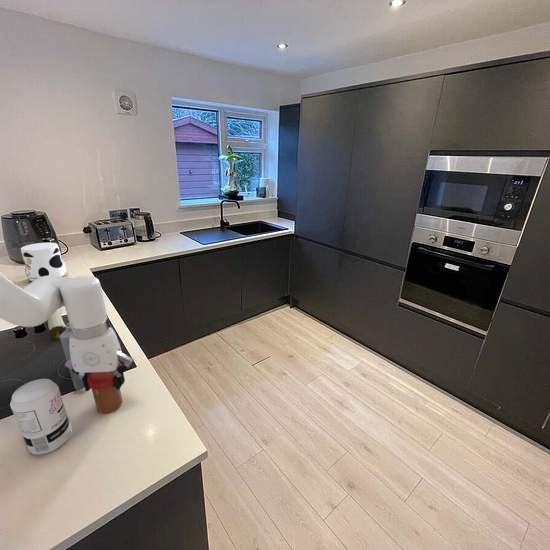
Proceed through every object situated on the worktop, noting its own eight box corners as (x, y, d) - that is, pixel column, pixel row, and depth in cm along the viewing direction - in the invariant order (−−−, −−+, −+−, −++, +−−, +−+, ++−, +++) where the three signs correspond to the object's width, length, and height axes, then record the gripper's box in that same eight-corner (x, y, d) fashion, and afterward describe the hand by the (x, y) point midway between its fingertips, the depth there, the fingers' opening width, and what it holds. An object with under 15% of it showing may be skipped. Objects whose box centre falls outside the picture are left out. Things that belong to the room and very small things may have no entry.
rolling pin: (47, 309, 124) (44, 299, 122) (63, 306, 127) (60, 296, 125) (50, 346, 100) (46, 334, 98) (69, 340, 103) (66, 329, 101)
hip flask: (90, 356, 96) (77, 302, 88) (104, 354, 97) (91, 301, 89) (73, 390, 81) (54, 330, 74) (89, 388, 82) (72, 328, 75)
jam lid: (111, 389, 71) (110, 383, 70) (82, 390, 71) (81, 384, 70) (123, 370, 78) (122, 365, 77) (96, 371, 77) (95, 366, 76)
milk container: (19, 282, 149) (8, 249, 143) (51, 271, 165) (42, 240, 158) (46, 286, 146) (36, 252, 139) (75, 274, 161) (68, 243, 155)
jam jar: (92, 414, 74) (84, 385, 71) (103, 396, 80) (96, 369, 76) (116, 413, 75) (110, 384, 71) (126, 395, 80) (120, 368, 77)
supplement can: (28, 437, 68) (7, 387, 62) (70, 419, 73) (54, 371, 67) (29, 464, 62) (7, 411, 56) (74, 442, 67) (58, 392, 61)
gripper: (41, 337, 64) (61, 398, 71) (122, 335, 65) (134, 395, 72) (61, 320, 71) (78, 377, 78) (134, 318, 72) (144, 375, 79)
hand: (105, 385), depth 75 cm, fingers closed on jam lid, 6 cm apart
